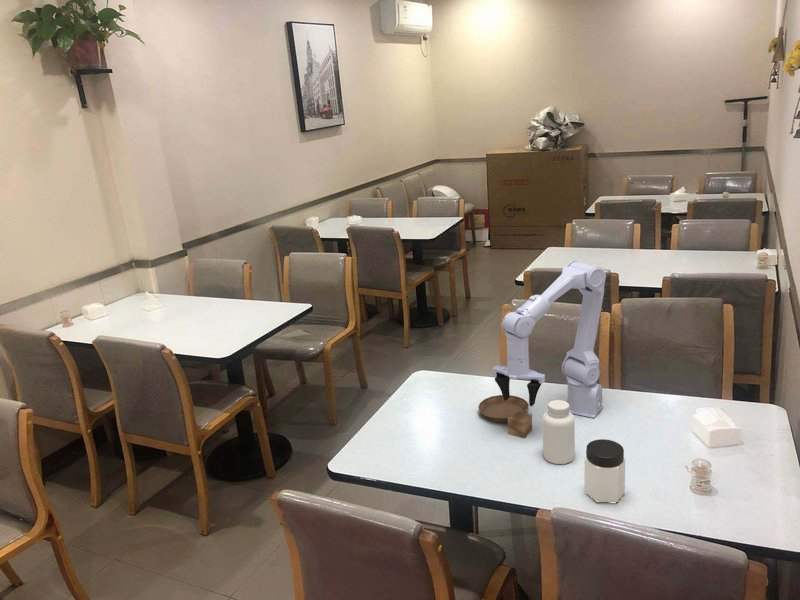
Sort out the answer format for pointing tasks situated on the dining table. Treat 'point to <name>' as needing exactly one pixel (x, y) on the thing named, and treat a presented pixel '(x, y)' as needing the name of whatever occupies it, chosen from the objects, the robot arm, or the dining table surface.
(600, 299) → the robot arm
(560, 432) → the pill bottle
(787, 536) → the dining table surface
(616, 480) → the jar
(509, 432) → the cube
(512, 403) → the saucer
